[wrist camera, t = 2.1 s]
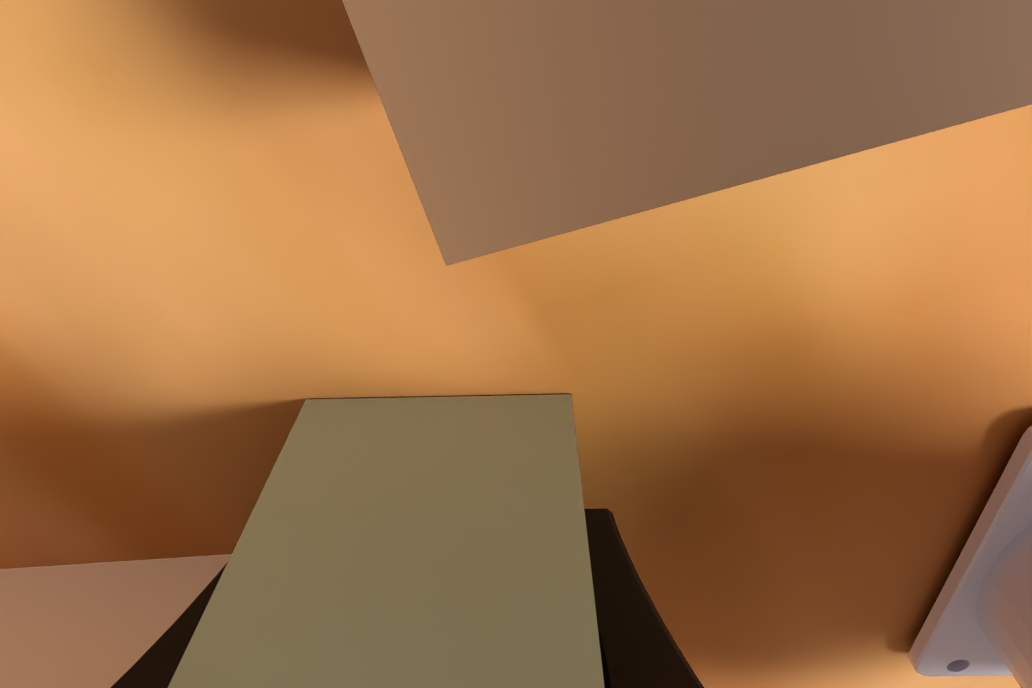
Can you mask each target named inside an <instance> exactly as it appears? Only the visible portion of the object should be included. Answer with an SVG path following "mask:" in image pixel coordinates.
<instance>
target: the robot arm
mask: <svg viewBox="0 0 1032 688" xmlns="http://www.w3.org/2000/svg"><path fill="white" fill-rule="evenodd" d="M584 511H585V519H586V528H587V537H588V546H589V555H590V563H591V572H592V581H593V590H594V599H595V607H596V616H597V625H598V634H599V643H600V651H601V660H602V669H603V678H604V687H605V688H704V687H703V685H702V684H701V682H700V681H699V679H698V678H697V676H696V675H695V673H694V672H693V670H692V669H691V667H690V665H689V664H688V662H687V661H686V659H685V657H684V656H683V654H682V653H681V651H680V649H679V648H678V646H677V644H676V643H675V641H674V640H673V638H672V636H671V634H670V633H669V631H668V629H667V628H666V626H665V624H664V622H663V621H662V619H661V617H660V615H659V613H658V612H657V610H656V608H655V606H654V604H653V602H652V600H651V599H650V597H649V595H648V593H647V591H646V589H645V588H644V586H643V584H642V582H641V580H640V578H639V576H638V574H637V572H636V569H635V567H634V565H633V563H632V561H631V559H630V557H629V555H628V552H627V550H626V548H625V546H624V543H623V541H622V538H621V536H620V533H619V531H618V528H617V525H616V523H615V520H614V517H613V513H612V512H610V511H609V510H608V509H584ZM227 563H228V562H227ZM227 563H226V564H225V566H224V567H223V568H222V569H221V570H220V571H219V573H218V574H217V575H216V576H215V577H214V578H213V580H212V581H211V582H210V583H209V584H208V585H207V586H206V588H205V589H204V590H203V591H202V592H201V593H200V594H199V595H198V596H197V598H196V599H195V600H194V601H193V602H192V603H191V604H190V605H189V607H188V608H187V609H186V610H185V611H184V612H183V613H182V614H181V616H180V617H179V618H178V619H177V620H176V621H175V622H174V623H173V624H172V625H171V626H170V627H169V628H168V629H167V631H166V632H165V633H164V634H163V635H162V636H161V637H160V638H159V639H158V640H157V641H156V642H155V643H154V644H153V645H152V646H151V647H150V648H149V649H148V650H147V651H146V652H145V653H144V654H143V655H142V657H141V658H140V659H139V660H138V661H137V662H136V663H135V664H134V665H133V666H132V667H131V668H130V669H129V670H128V671H127V672H126V673H125V674H124V675H123V676H122V677H121V678H120V679H119V680H118V681H117V682H116V683H114V684H113V685H112V686H111V687H110V688H168V686H169V684H170V682H171V680H172V678H173V676H174V674H175V672H176V669H177V667H178V665H179V663H180V661H181V659H182V657H183V655H184V653H185V651H186V649H187V646H188V644H189V642H190V640H191V638H192V636H193V634H194V632H195V630H196V628H197V626H198V623H199V621H200V619H201V617H202V615H203V613H204V611H205V609H206V607H207V605H208V603H209V601H210V598H211V596H212V594H213V592H214V590H215V588H216V586H217V584H218V582H219V580H220V578H221V575H222V573H223V571H224V569H225V567H226V565H227ZM908 658H909V659H910V661H911V663H912V665H913V667H914V669H915V670H916V672H917V673H920V674H922V675H924V676H1014V678H1015V679H1016V681H1017V682H1018V684H1019V685H1020V687H1021V688H1032V425H1031V426H1030V427H1028V429H1027V430H1026V431H1025V433H1024V434H1023V435H1022V437H1021V439H1020V441H1019V443H1018V445H1017V447H1016V449H1015V451H1014V453H1013V454H1012V456H1011V458H1010V460H1009V462H1008V464H1007V466H1006V468H1005V470H1004V472H1003V474H1002V475H1001V477H1000V479H999V481H998V483H997V485H996V487H995V489H994V491H993V493H992V495H991V497H990V498H989V500H988V502H987V504H986V506H985V508H984V510H983V512H982V514H981V516H980V518H979V519H978V521H977V523H976V525H975V527H974V529H973V531H972V533H971V535H970V537H969V539H968V541H967V542H966V544H965V546H964V548H963V550H962V552H961V554H960V556H959V558H958V560H957V562H956V563H955V565H954V567H953V569H952V571H951V573H950V575H949V577H948V579H947V581H946V583H945V584H944V586H943V588H942V590H941V592H940V594H939V596H938V598H937V600H936V602H935V604H934V606H933V607H932V609H931V611H930V613H929V615H928V617H927V619H926V621H925V623H924V625H923V627H922V628H921V630H920V632H919V634H918V636H917V638H916V640H915V642H914V644H913V646H912V648H911V650H910V651H909V655H908Z"/></svg>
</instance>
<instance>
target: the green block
mask: <svg viewBox="0 0 1032 688" xmlns="http://www.w3.org/2000/svg"><path fill="white" fill-rule="evenodd" d="M168 688H605V687H604V678H603V669H602V660H601V651H600V643H599V634H598V625H597V616H596V607H595V599H594V590H593V581H592V572H591V563H590V555H589V546H588V537H587V528H586V519H585V511H584V502H583V493H582V484H581V475H580V467H579V458H578V449H577V440H576V431H575V423H574V414H573V405H572V396H571V394H557V395H506V396H455V397H404V398H353V399H306V400H305V402H304V404H303V406H302V408H301V410H300V413H299V415H298V417H297V419H296V421H295V423H294V425H293V427H292V429H291V431H290V433H289V436H288V438H287V440H286V442H285V444H284V446H283V448H282V450H281V452H280V454H279V456H278V458H277V461H276V463H275V465H274V467H273V469H272V471H271V473H270V475H269V477H268V479H267V481H266V484H265V486H264V488H263V490H262V492H261V494H260V496H259V498H258V500H257V502H256V504H255V507H254V509H253V511H252V513H251V515H250V517H249V519H248V521H247V523H246V525H245V527H244V530H243V532H242V534H241V536H240V538H239V540H238V542H237V544H236V546H235V548H234V550H233V552H232V555H231V557H230V559H229V561H228V563H227V565H226V567H225V569H224V571H223V573H222V575H221V578H220V580H219V582H218V584H217V586H216V588H215V590H214V592H213V594H212V596H211V598H210V601H209V603H208V605H207V607H206V609H205V611H204V613H203V615H202V617H201V619H200V621H199V623H198V626H197V628H196V630H195V632H194V634H193V636H192V638H191V640H190V642H189V644H188V646H187V649H186V651H185V653H184V655H183V657H182V659H181V661H180V663H179V665H178V667H177V669H176V672H175V674H174V676H173V678H172V680H171V682H170V684H169V686H168Z"/></svg>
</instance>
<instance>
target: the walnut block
mask: <svg viewBox="0 0 1032 688" xmlns="http://www.w3.org/2000/svg"><path fill="white" fill-rule="evenodd" d="M342 2H343V4H344V7H345V10H346V12H347V15H348V17H349V20H350V22H351V25H352V27H353V30H354V32H355V35H356V37H357V40H358V43H359V45H360V48H361V50H362V53H363V55H364V58H365V60H366V63H367V65H368V68H369V71H370V73H371V76H372V78H373V81H374V83H375V86H376V88H377V91H378V93H379V96H380V99H381V101H382V104H383V106H384V109H385V111H386V114H387V116H388V119H389V121H390V124H391V127H392V129H393V132H394V134H395V137H396V139H397V142H398V144H399V147H400V149H401V152H402V155H403V157H404V160H405V162H406V165H407V167H408V170H409V172H410V175H411V177H412V180H413V183H414V185H415V188H416V190H417V193H418V195H419V198H420V200H421V203H422V205H423V208H424V211H425V213H426V216H427V218H428V221H429V223H430V226H431V228H432V231H433V233H434V236H435V239H436V241H437V244H438V246H439V249H440V251H441V254H442V256H443V259H444V261H445V264H446V266H447V265H451V264H455V263H458V262H462V261H466V260H469V259H473V258H476V257H480V256H484V255H487V254H491V253H494V252H498V251H502V250H505V249H509V248H513V247H516V246H520V245H523V244H527V243H531V242H534V241H538V240H542V239H545V238H549V237H552V236H556V235H560V234H563V233H567V232H571V231H574V230H578V229H581V228H585V227H589V226H592V225H596V224H600V223H603V222H607V221H610V220H614V219H618V218H621V217H625V216H629V215H632V214H636V213H639V212H643V211H647V210H650V209H654V208H658V207H661V206H665V205H668V204H672V203H676V202H679V201H683V200H687V199H690V198H694V197H697V196H701V195H705V194H708V193H712V192H715V191H719V190H723V189H726V188H730V187H734V186H737V185H741V184H744V183H748V182H752V181H755V180H759V179H763V178H766V177H770V176H773V175H777V174H781V173H784V172H788V171H792V170H795V169H799V168H802V167H806V166H810V165H813V164H817V163H821V162H824V161H828V160H831V159H835V158H839V157H842V156H846V155H850V154H853V153H857V152H860V151H864V150H868V149H871V148H875V147H879V146H882V145H886V144H889V143H893V142H897V141H900V140H904V139H908V138H911V137H915V136H918V135H922V134H926V133H929V132H933V131H936V130H940V129H944V128H947V127H951V126H955V125H958V124H962V123H965V122H969V121H973V120H976V119H980V118H984V117H987V116H991V115H994V114H998V113H1002V112H1005V111H1009V110H1013V109H1016V108H1020V107H1023V106H1027V105H1031V104H1032V0H342Z"/></svg>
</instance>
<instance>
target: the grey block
mask: <svg viewBox="0 0 1032 688" xmlns="http://www.w3.org/2000/svg"><path fill="white" fill-rule="evenodd" d="M231 555H232V554H223V555H208V556H192V557H177V558H161V559H146V560H131V561H115V562H100V563H84V564H69V565H54V566H38V567H23V568H7V569H0V688H110V687H111V686H112V685H113V684H114V683H116V682H117V681H118V680H119V679H120V678H121V677H122V676H123V675H124V674H125V673H126V672H127V671H128V670H129V669H130V668H131V667H132V666H133V665H134V664H135V663H136V662H137V661H138V660H139V659H140V658H141V657H142V655H143V654H144V653H145V652H146V651H147V650H148V649H149V648H150V647H151V646H152V645H153V644H154V643H155V642H156V641H157V640H158V639H159V638H160V637H161V636H162V635H163V634H164V633H165V632H166V631H167V629H168V628H169V627H170V626H171V625H172V624H173V623H174V622H175V621H176V620H177V619H178V618H179V617H180V616H181V614H182V613H183V612H184V611H185V610H186V609H187V608H188V607H189V605H190V604H191V603H192V602H193V601H194V600H195V599H196V598H197V596H198V595H199V594H200V593H201V592H202V591H203V590H204V589H205V588H206V586H207V585H208V584H209V583H210V582H211V581H212V580H213V578H214V577H215V576H216V575H217V574H218V573H219V571H220V570H221V569H222V568H223V567H224V566H225V564H226V563H227V562H228V561H229V559H230V557H231Z"/></svg>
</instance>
